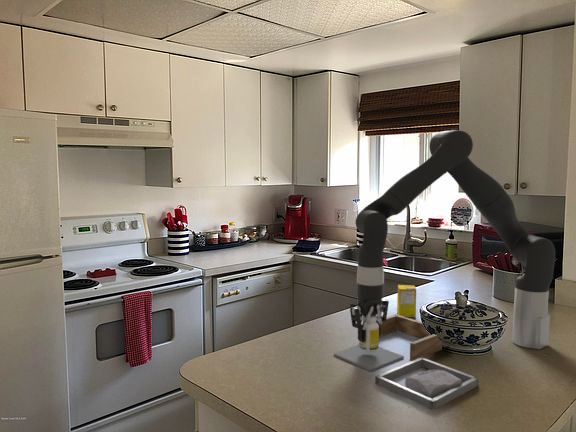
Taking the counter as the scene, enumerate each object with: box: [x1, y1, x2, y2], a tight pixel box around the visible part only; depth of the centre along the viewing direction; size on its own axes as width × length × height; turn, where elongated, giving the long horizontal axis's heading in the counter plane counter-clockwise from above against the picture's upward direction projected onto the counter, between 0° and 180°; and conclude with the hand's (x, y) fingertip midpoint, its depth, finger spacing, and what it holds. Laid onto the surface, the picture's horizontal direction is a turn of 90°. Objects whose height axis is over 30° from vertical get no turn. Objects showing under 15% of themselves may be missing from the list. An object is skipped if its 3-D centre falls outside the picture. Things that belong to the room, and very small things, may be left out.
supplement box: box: [396, 284, 417, 320], centre depth 177 cm, size 6×6×11 cm
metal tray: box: [374, 357, 479, 411], centre depth 124 cm, size 17×19×2 cm
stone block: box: [404, 369, 463, 399], centre depth 122 cm, size 12×5×10 cm
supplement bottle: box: [359, 315, 380, 352], centre depth 141 cm, size 5×5×10 cm
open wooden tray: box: [380, 313, 443, 362], centre depth 151 cm, size 20×17×5 cm
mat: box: [333, 344, 405, 373], centre depth 142 cm, size 14×14×1 cm
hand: (369, 338), depth 141 cm, fingers closed on supplement bottle, 5 cm apart
